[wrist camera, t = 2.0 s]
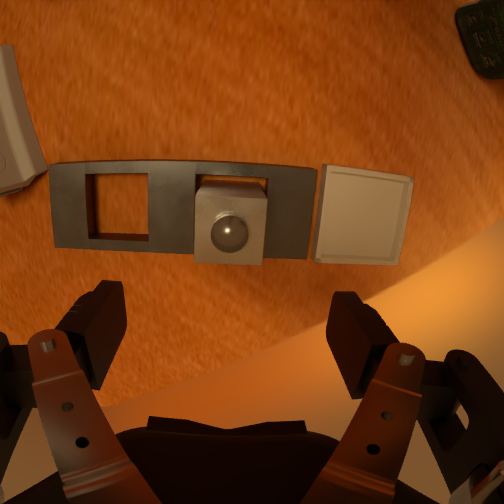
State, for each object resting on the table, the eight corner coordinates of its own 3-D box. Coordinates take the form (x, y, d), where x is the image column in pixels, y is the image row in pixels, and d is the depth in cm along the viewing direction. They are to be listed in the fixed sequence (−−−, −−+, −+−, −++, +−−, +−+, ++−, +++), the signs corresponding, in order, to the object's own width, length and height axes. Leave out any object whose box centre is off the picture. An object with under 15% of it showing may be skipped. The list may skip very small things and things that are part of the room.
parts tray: (322, 163, 27) (327, 164, 26) (406, 175, 28) (414, 177, 27) (310, 256, 31) (314, 262, 29) (391, 260, 31) (397, 265, 30)
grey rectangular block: (205, 179, 27) (194, 197, 19) (257, 181, 28) (268, 201, 20) (203, 229, 29) (193, 267, 21) (253, 231, 29) (262, 270, 21)
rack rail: (59, 162, 26) (48, 164, 24) (311, 167, 27) (317, 170, 26) (64, 240, 28) (55, 247, 26) (301, 251, 30) (306, 259, 28)
